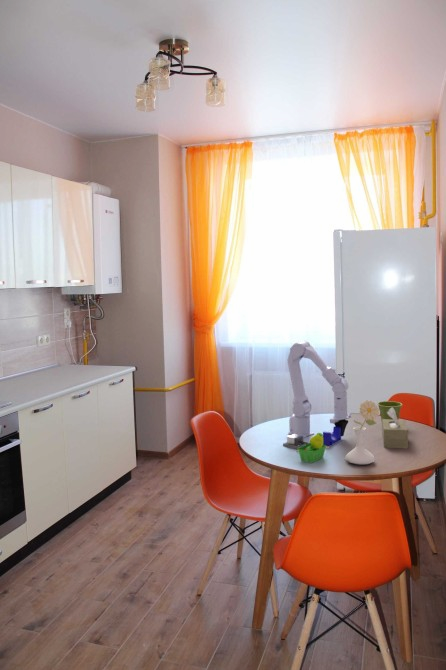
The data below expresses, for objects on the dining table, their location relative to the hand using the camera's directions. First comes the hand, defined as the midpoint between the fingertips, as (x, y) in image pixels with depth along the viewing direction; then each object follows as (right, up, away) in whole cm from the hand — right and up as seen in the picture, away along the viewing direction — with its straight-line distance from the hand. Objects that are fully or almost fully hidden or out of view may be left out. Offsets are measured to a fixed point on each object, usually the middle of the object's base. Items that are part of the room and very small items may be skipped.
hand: (340, 435), depth 251 cm
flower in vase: (+1, -5, -34) cm, 34 cm away
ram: (-22, -3, -8) cm, 23 cm away
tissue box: (+22, -2, -7) cm, 23 cm away
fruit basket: (-17, -5, -28) cm, 33 cm away
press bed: (-18, -3, -11) cm, 22 cm away
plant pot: (+28, +1, +19) cm, 34 cm away
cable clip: (-6, -2, -6) cm, 8 cm away
